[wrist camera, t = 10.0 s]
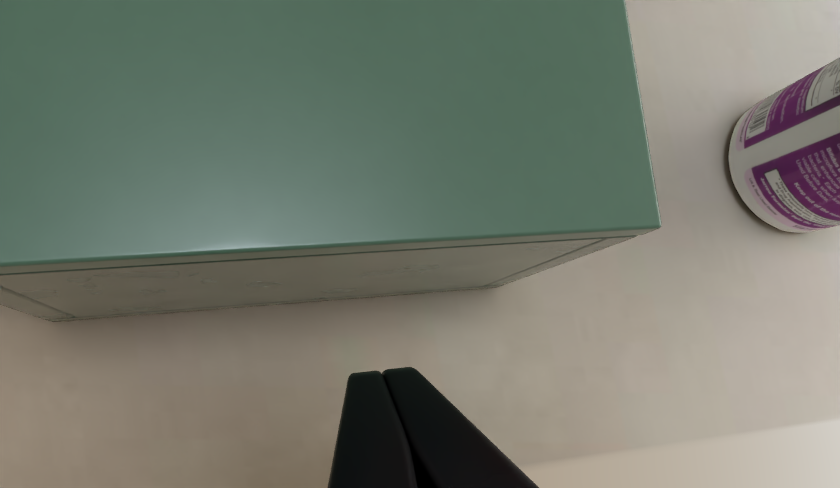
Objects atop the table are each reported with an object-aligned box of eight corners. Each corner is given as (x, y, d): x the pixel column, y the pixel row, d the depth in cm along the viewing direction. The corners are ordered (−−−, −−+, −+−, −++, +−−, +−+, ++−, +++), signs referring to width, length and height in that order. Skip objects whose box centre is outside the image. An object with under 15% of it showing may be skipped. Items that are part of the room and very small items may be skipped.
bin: (42, -110, 23) (-72, -401, 14) (453, -83, 26) (557, -303, 18) (49, 322, 20) (-81, 280, 12) (498, 287, 24) (641, 236, 15)
